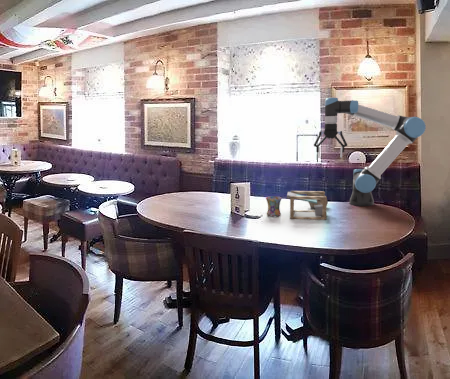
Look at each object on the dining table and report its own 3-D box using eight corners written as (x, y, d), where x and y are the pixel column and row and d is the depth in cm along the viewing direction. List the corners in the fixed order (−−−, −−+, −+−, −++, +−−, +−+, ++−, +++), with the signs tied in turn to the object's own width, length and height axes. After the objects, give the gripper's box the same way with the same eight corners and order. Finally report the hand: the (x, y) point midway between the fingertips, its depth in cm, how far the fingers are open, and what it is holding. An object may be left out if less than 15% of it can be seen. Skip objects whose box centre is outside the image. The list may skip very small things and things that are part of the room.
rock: (325, 195, 262) (330, 193, 255) (323, 211, 261) (328, 209, 253) (305, 191, 262) (309, 189, 254) (303, 207, 260) (307, 205, 252)
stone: (315, 213, 238) (325, 212, 237) (315, 215, 233) (326, 214, 232) (314, 205, 237) (324, 204, 236) (314, 207, 232) (325, 206, 231)
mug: (283, 217, 234) (283, 199, 232) (267, 217, 234) (267, 199, 232) (279, 212, 246) (279, 195, 244) (264, 212, 246) (264, 195, 244)
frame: (323, 212, 243) (324, 191, 241) (326, 219, 226) (326, 197, 224) (290, 211, 247) (290, 190, 245) (290, 218, 229) (290, 196, 227)
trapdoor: (315, 200, 241) (316, 197, 241) (316, 205, 228) (317, 202, 227) (287, 194, 243) (287, 191, 243) (286, 198, 230) (287, 195, 230)
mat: (319, 213, 241) (319, 212, 241) (321, 218, 229) (321, 217, 229) (294, 212, 244) (294, 211, 244) (294, 217, 231) (294, 216, 231)
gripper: (351, 122, 250) (349, 157, 253) (310, 123, 254) (309, 157, 258) (352, 123, 242) (351, 158, 246) (310, 123, 247) (309, 158, 250)
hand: (330, 157), depth 252 cm, fingers open, 13 cm apart
